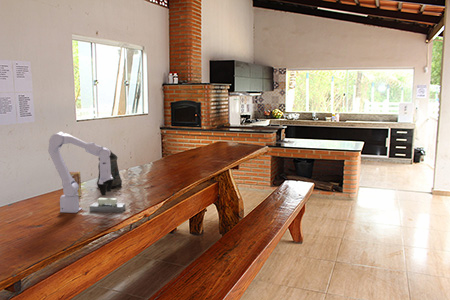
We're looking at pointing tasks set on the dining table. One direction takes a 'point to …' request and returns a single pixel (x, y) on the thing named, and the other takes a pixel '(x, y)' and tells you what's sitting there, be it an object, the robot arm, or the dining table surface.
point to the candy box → (77, 180)
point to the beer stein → (113, 172)
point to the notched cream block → (107, 201)
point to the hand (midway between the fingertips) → (106, 193)
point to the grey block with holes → (107, 207)
